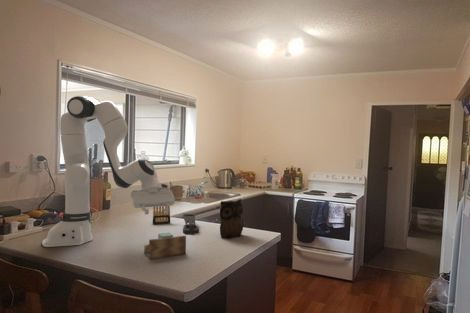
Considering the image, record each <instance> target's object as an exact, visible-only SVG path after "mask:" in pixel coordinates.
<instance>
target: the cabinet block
mask: <svg viewBox="0 0 470 313" xmlns="http://www.w3.org/2000/svg"><path fill="white" fill-rule="evenodd" d="M157 237H158V238H157V239H160V238H168V237H174V234H172V233H171V232H164V233H163V232H162V233H158V235H157Z"/></svg>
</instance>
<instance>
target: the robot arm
mask: <svg viewBox="0 0 470 313" xmlns="http://www.w3.org/2000/svg"><path fill="white" fill-rule="evenodd" d="M66 110H67V112H65V113H63V114H62V115H61V116H60V122H59V123H60V124H59V129H60V130H59V132H60V133H59V134H60V140H61V141H60V142H61V148H62V155H63V161H64V166H65V171H64V195H65V196H64V198H65V201H64V202H65V203H64V204H65V206H64V207H65V210H64V211H65V212H60V213H59V217H60V221H59V222H58V223H56V224H55V225H54V226H52V227H51V228H50V229H49V230H48V233H47V237H46V238H45V239H43V240H42V244H41V245H42V247H45V248H52V247H53V248H55V247H66V246H67V247H68V246H70V247H71V246H81V245H83V244H85V243H88V242H91V241H93V239H94V237H93V234H92V229H91V221H92V220H91V219H92V215H91V214H92V213H91V211H90V207H91V206H90V205H91V204H90V203H91V201H90V199H91V198H90V191H91V190H90V189H91V188H90V187H91V186H90V185H91V184H90V182H91V181H90V179H91V178H90V176H91V171H90V163H89V155H88V154H89V153H88V148H87V136H86V130H85V129H86V128H85V125H86V123H89V122H92V121H94V120H97V121H98V123H99V124H100V125H101V127H102V129H103V134H104V139H103V141H102V144H103V148H104V152H105V155H106V158H107V160H108V163H109V164H108V165H109V167H110V169H111V172H112V177H113V181H114V183H115V185H116V186H117V187H118V188H122V189H128V188H129V187H131V186H133V184H135V183H137V182H140V184H141V186H140V187H141V189H139V190H136V189H135V190H133V191H131V192H130V197H131V198H132V206H133V208H134V209H141V210H142V211H143V212H144V215H149V213H150V212H149V209H147V208H153V207H155V208H156V207H157V206H158V207H159V206H161V207H162V206H164V213H168V206H173V205H174V204H175V202H176V198H175V196H174V193H173V191H172V190H171V189H170V188H171V186H170V185H169V184H165V183H161V182H159V180H158V174H157V171H156V169H155V166H154V165H153V163H152V162H150V161H149V160H148V159H145V158H142V157H138V158H137V159H134V160H132V161H131V162H130V163H128V164H126V165H123V166H122V163H121V161H120V158H119V156H118V153H117V150H118V147H119V145H120V144H121V142H122V141H124V139H125V138H126V136H127V134H128V129H129V128H128V126H129V125H128V123H127V122H126V120H125V118H124V116H123V114H122V112H121V111H120V110H119V108H118V107H117V105H115V103H114V102H113V101H110V100H104V101H100V100H99V99H97V98H93V97H90V96H82V95H77V96H73V97H71V98H70V99H69V100H68V101H67V103H66ZM165 207H166V208H165Z"/></svg>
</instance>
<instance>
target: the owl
mask: <svg viewBox="0 0 470 313" xmlns="http://www.w3.org/2000/svg"><path fill="white" fill-rule="evenodd" d="M219 205H220V208H219V217H220V218H219V219H220V223H219V224H220V225H219V233H220V238H221V239H222V240H224V239H226V240H230V239H235V238H236V239H237V238H240V237H241V236H242V232H243V229H244V226H245V224H244V219H243V218H242V216H243V213H244V206H243V204H242V198H238V199H229V200H225V201H224V200H221V201H220V204H219Z"/></svg>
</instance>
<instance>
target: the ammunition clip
mask: <svg viewBox="0 0 470 313" xmlns="http://www.w3.org/2000/svg"><path fill="white" fill-rule="evenodd" d="M152 208H153V209H152V210H153V211H152V225H164V224H166V225H169V224H171V207H170V206H168V213H164V209H165V208H166V207H165V206H157V207H152Z"/></svg>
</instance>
